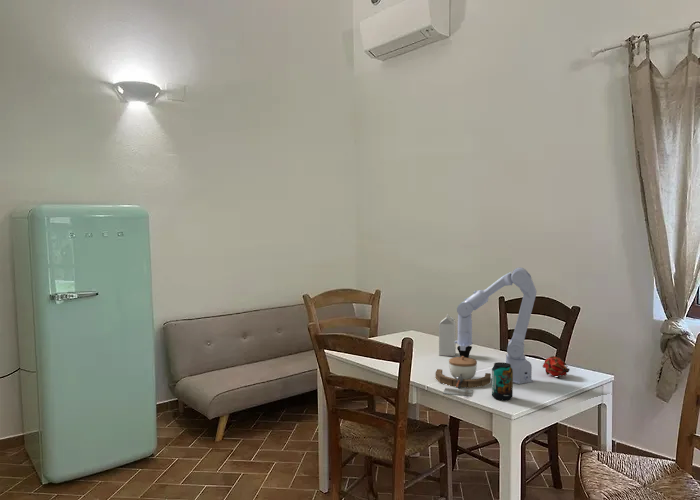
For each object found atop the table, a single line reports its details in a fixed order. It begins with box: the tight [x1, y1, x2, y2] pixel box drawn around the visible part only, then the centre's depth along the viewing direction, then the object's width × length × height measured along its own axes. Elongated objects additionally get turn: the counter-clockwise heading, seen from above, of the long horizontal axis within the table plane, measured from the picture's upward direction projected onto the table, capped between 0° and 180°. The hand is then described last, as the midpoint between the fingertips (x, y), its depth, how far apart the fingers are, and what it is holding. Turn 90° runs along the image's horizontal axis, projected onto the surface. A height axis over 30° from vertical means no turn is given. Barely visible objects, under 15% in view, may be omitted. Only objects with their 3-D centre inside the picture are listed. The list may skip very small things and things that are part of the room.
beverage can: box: [491, 361, 513, 401], centre depth 184 cm, size 7×7×12 cm
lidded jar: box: [448, 356, 478, 380], centre depth 206 cm, size 11×11×9 cm
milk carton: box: [438, 313, 457, 357], centre depth 246 cm, size 7×7×19 cm
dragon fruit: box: [542, 355, 571, 377], centre depth 210 cm, size 8×8×12 cm
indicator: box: [456, 374, 463, 388], centre depth 194 cm, size 15×2×2 cm, turn 162°
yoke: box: [434, 368, 492, 397], centre depth 199 cm, size 23×21×2 cm
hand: (464, 364), depth 213 cm, fingers closed
